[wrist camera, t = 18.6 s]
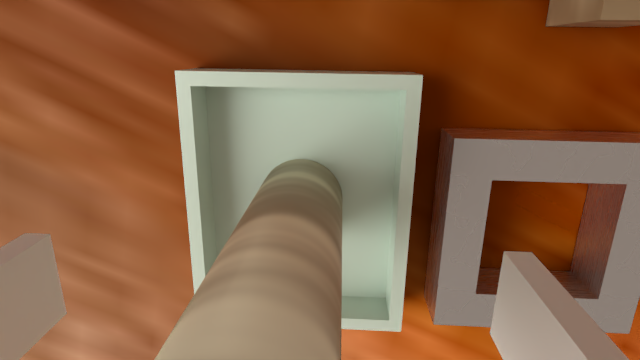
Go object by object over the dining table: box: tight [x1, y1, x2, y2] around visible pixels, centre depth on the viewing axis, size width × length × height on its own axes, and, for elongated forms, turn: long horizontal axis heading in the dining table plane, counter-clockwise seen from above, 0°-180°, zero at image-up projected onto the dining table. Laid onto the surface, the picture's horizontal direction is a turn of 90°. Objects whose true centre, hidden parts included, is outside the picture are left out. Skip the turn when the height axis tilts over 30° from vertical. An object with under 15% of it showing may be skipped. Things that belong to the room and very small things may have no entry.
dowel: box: [155, 159, 342, 360], centre depth 14 cm, size 4×4×14 cm
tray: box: [175, 68, 423, 332], centre depth 20 cm, size 12×10×2 cm
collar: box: [424, 128, 640, 334], centre depth 19 cm, size 9×9×2 cm
